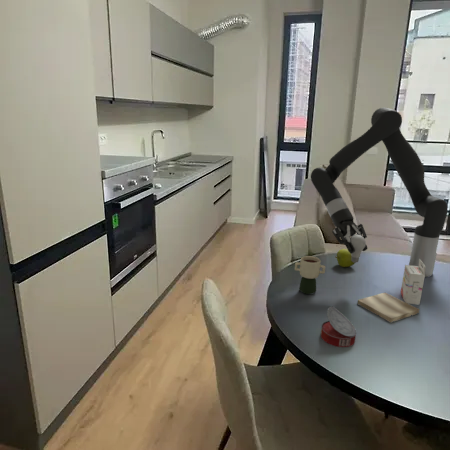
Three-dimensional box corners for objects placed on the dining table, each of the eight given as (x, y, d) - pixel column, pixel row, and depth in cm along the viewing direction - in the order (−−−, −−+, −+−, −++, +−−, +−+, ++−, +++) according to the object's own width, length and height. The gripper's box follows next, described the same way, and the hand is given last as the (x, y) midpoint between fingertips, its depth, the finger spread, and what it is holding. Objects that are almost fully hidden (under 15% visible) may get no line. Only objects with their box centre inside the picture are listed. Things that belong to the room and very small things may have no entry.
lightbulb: (363, 261, 145) (366, 233, 141) (363, 267, 139) (366, 238, 136) (346, 258, 147) (349, 231, 143) (345, 264, 141) (348, 236, 138)
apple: (331, 263, 171) (333, 246, 169) (350, 263, 172) (352, 246, 170) (338, 270, 163) (340, 252, 161) (358, 269, 164) (360, 252, 162)
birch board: (384, 296, 140) (385, 292, 140) (418, 313, 128) (419, 309, 128) (357, 303, 134) (357, 299, 133) (390, 322, 122) (391, 318, 122)
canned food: (335, 341, 119) (349, 313, 119) (355, 357, 109) (371, 326, 109) (307, 330, 115) (322, 301, 115) (326, 346, 105) (342, 314, 105)
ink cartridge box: (399, 293, 143) (405, 256, 139) (413, 294, 142) (420, 258, 138) (405, 303, 135) (411, 265, 131) (420, 305, 134) (427, 266, 130)
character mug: (322, 289, 144) (326, 257, 140) (322, 298, 137) (326, 264, 134) (293, 285, 146) (296, 254, 143) (292, 293, 140) (294, 260, 136)
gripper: (330, 209, 140) (351, 249, 133) (358, 205, 147) (379, 244, 140) (319, 219, 146) (338, 258, 139) (347, 215, 153) (366, 252, 146)
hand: (359, 251), depth 140 cm, fingers closed on lightbulb, 5 cm apart
